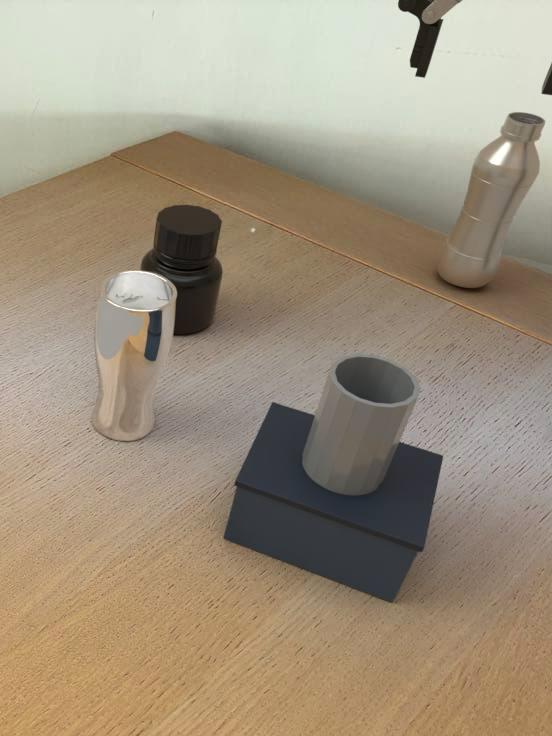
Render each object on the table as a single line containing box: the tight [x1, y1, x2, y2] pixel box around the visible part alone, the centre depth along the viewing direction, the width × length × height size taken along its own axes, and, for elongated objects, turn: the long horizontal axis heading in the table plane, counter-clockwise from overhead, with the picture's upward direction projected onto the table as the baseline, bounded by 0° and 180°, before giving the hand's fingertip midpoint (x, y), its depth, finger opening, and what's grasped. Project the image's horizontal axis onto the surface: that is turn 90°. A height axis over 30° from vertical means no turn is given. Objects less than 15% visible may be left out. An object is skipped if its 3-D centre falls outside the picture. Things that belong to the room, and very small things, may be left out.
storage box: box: [223, 401, 444, 604], centre depth 68 cm, size 14×11×7 cm
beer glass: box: [91, 269, 177, 442], centre depth 76 cm, size 7×7×15 cm
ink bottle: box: [139, 204, 224, 335], centre depth 91 cm, size 10×9×12 cm
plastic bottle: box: [436, 111, 546, 289], centre depth 94 cm, size 6×7×20 cm
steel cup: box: [302, 353, 421, 496], centre depth 63 cm, size 6×6×9 cm
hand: (482, 82), depth 61 cm, fingers open, 8 cm apart
